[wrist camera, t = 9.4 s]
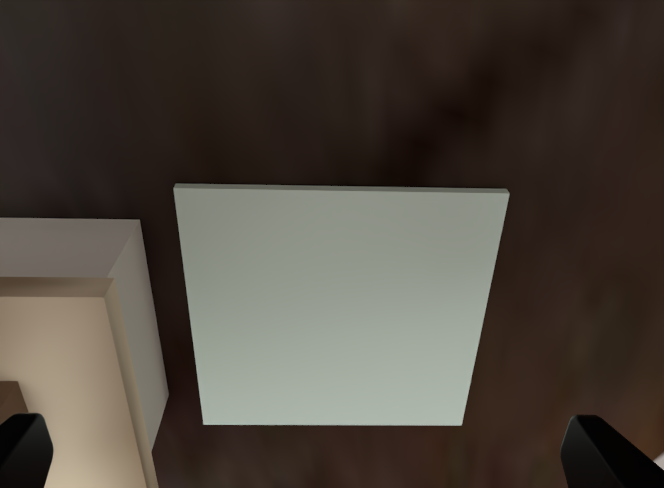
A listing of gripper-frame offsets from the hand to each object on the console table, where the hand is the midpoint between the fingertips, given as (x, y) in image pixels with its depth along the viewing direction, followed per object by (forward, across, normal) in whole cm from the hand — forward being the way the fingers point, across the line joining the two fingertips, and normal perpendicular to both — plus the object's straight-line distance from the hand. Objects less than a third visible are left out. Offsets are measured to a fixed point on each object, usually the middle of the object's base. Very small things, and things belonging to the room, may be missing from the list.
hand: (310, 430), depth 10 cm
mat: (+12, -1, +7) cm, 14 cm away
